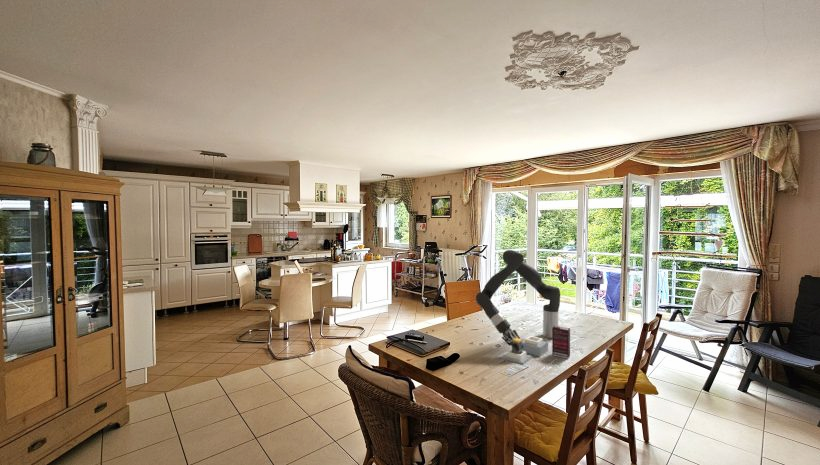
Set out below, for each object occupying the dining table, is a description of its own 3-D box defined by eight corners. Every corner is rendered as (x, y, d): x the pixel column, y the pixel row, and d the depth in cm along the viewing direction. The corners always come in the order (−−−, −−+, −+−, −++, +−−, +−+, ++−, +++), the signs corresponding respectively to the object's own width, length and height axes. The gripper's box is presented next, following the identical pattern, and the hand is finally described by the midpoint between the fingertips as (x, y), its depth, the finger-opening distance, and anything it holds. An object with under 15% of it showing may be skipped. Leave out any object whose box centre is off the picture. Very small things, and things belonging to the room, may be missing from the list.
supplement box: (570, 356, 184) (570, 328, 184) (568, 359, 180) (568, 330, 180) (553, 352, 189) (554, 325, 189) (551, 355, 186) (552, 327, 185)
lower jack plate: (501, 358, 181) (501, 352, 181) (511, 352, 190) (511, 346, 190) (523, 364, 173) (523, 357, 173) (532, 357, 182) (532, 351, 182)
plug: (511, 353, 181) (512, 339, 181) (514, 351, 184) (515, 337, 184) (518, 355, 178) (519, 341, 178) (521, 353, 181) (522, 339, 181)
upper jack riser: (519, 351, 192) (519, 339, 191) (527, 345, 201) (527, 334, 200) (540, 356, 184) (540, 344, 183) (548, 350, 193) (548, 338, 192)
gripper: (498, 321, 180) (519, 349, 173) (510, 316, 191) (530, 342, 183) (489, 329, 184) (510, 356, 176) (501, 323, 195) (521, 349, 187)
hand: (520, 349), depth 180 cm, fingers closed on plug, 4 cm apart
